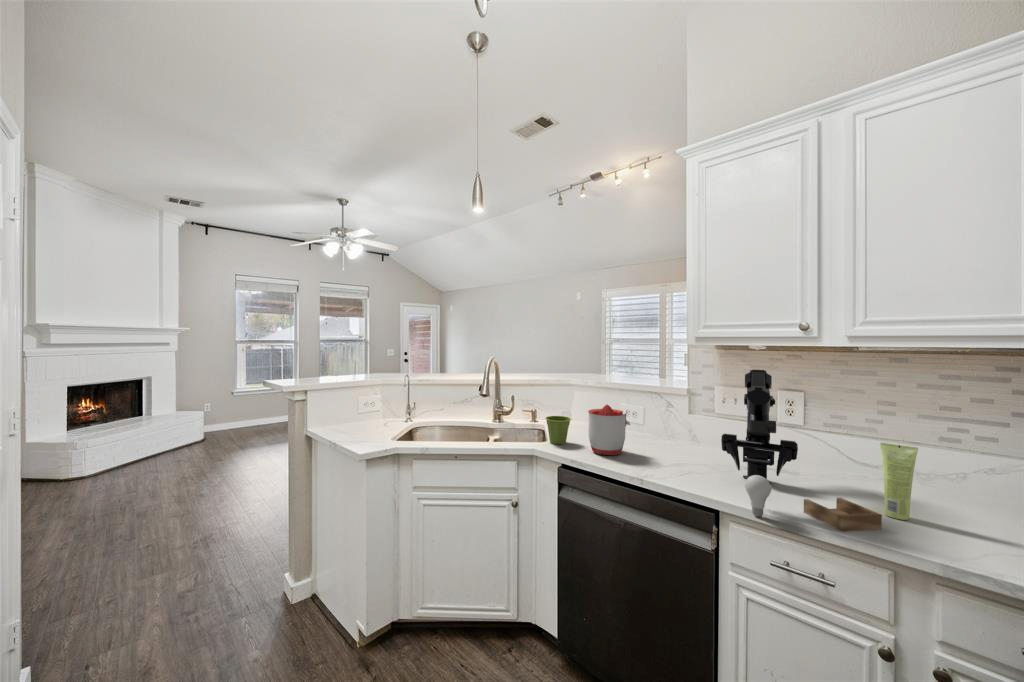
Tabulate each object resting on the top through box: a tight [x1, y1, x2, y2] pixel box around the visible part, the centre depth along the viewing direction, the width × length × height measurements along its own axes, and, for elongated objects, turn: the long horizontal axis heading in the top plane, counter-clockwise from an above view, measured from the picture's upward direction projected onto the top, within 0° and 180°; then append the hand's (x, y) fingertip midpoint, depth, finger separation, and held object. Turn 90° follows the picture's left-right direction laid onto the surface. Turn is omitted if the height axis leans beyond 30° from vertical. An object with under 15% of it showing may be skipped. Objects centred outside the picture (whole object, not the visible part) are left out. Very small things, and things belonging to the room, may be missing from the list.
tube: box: [879, 442, 919, 521], centre depth 113 cm, size 6×5×20 cm
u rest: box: [803, 497, 883, 532], centre depth 110 cm, size 11×11×4 cm
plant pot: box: [544, 415, 572, 445], centre depth 190 cm, size 12×12×11 cm
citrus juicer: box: [587, 404, 631, 456], centre depth 175 cm, size 16×17×20 cm
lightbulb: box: [744, 475, 772, 518], centre depth 112 cm, size 6×6×11 cm
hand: (757, 472), depth 116 cm, fingers open, 9 cm apart
